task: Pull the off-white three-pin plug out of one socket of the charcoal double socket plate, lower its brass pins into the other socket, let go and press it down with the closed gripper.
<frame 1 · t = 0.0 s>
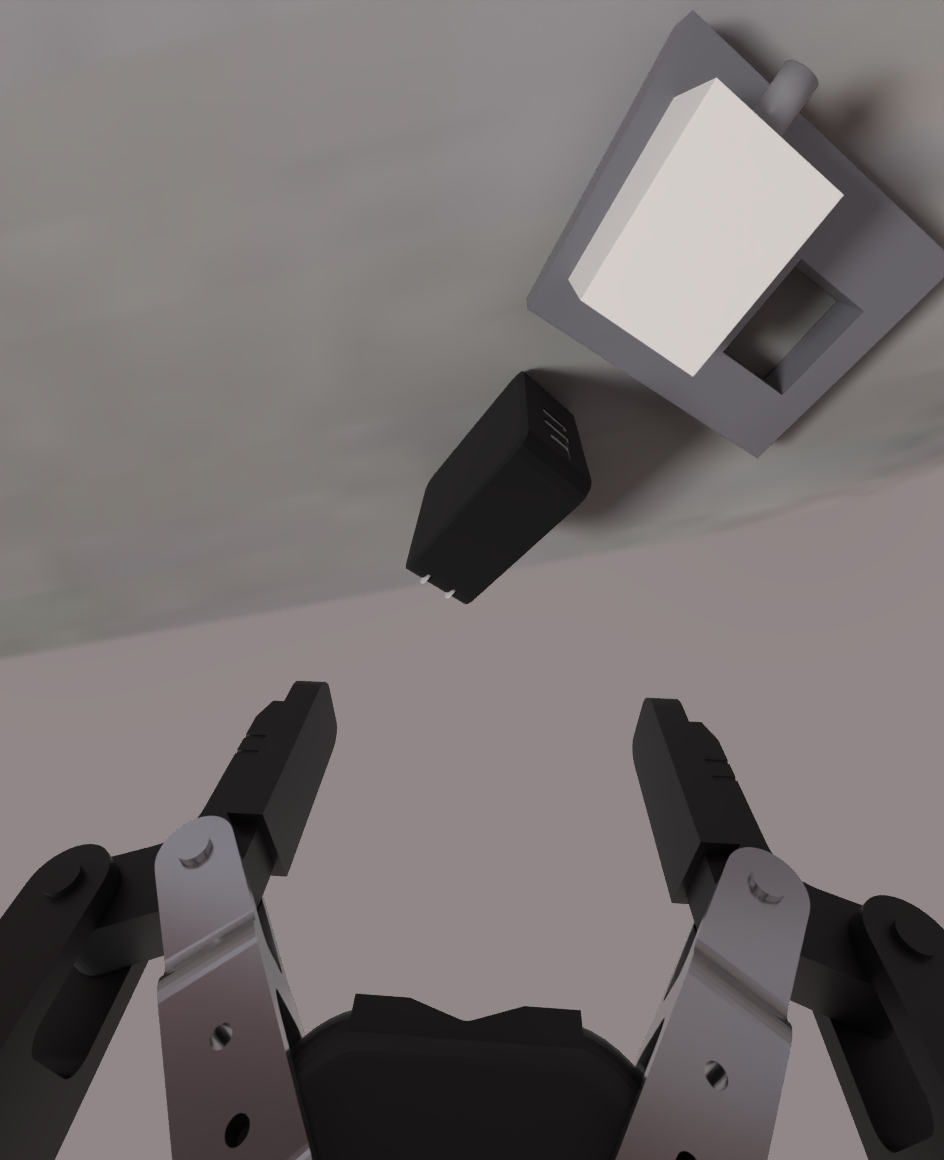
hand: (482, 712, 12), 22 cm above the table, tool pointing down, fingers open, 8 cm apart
electronic device: (494, 447, 32), on the table
plug: (657, 233, 23), resting in socket plate
socket plate: (715, 278, 25), on the table
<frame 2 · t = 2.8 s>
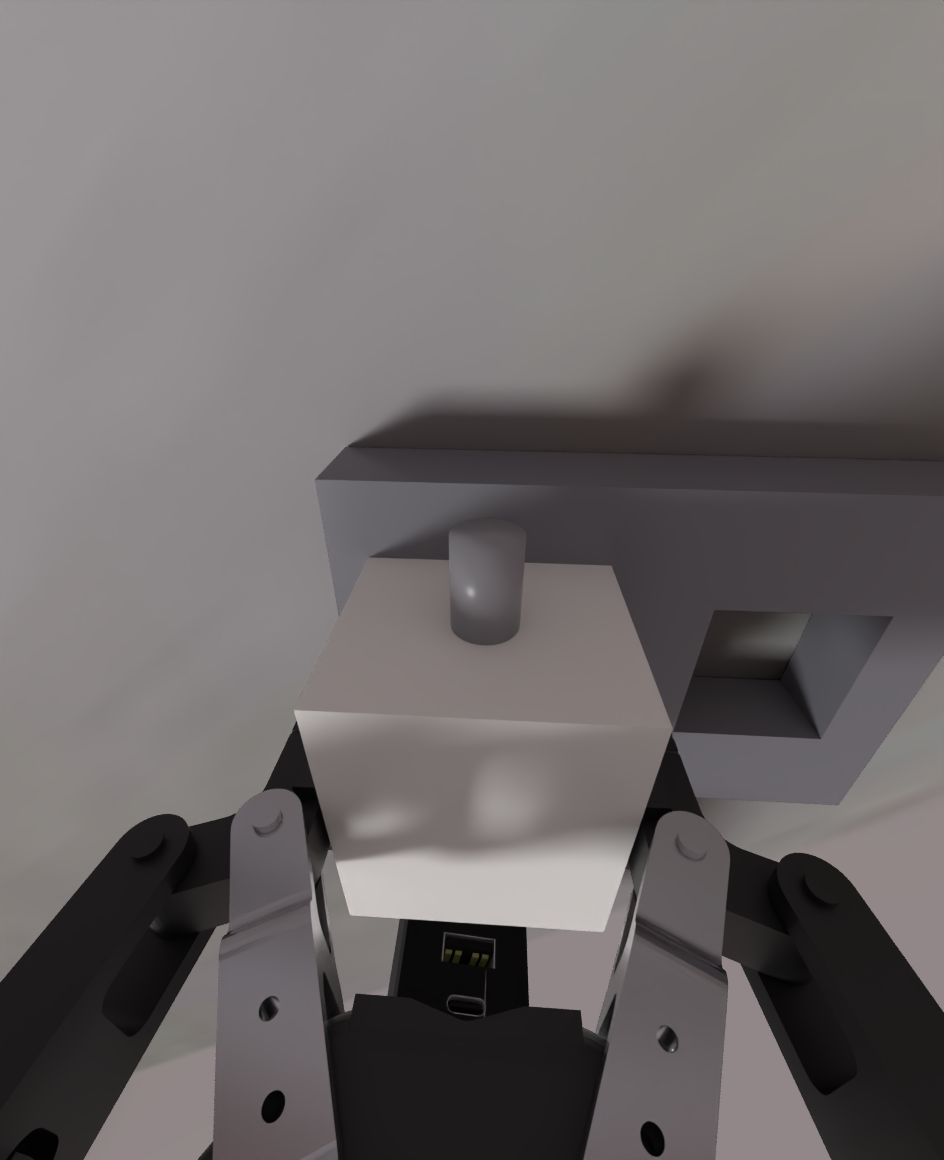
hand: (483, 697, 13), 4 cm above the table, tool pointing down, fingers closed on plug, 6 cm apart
electronic device: (457, 838, 23), on the table
plug: (487, 624, 15), resting in socket plate, touching gripper
socket plate: (610, 620, 16), on the table
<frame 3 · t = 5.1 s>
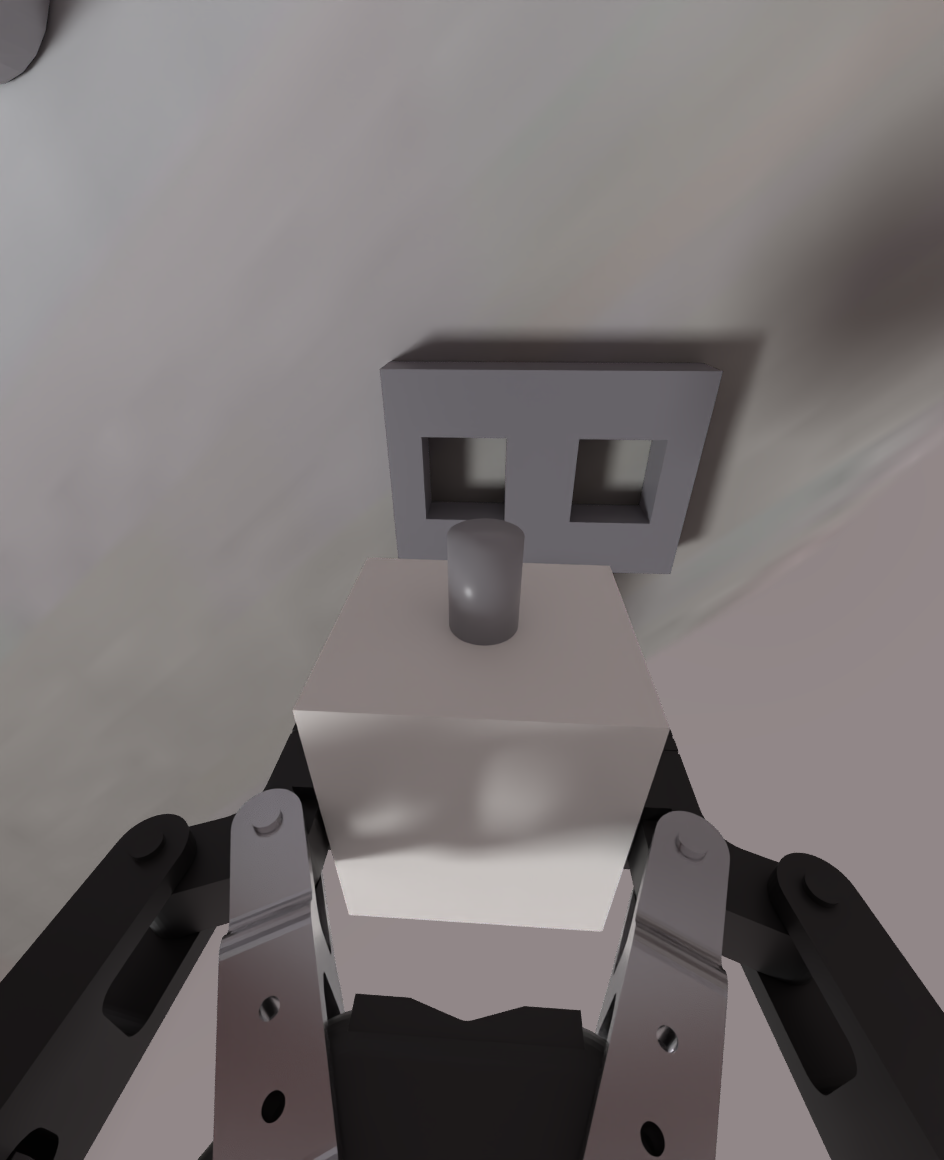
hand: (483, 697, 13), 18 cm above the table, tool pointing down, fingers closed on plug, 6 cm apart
plug: (486, 624, 15), point 15 cm above the table, touching gripper
socket plate: (536, 466, 27), on the table
when the fingers open (5 cm above the table, at t = 7.8 s): plug stays where it is, resting on socket plate.
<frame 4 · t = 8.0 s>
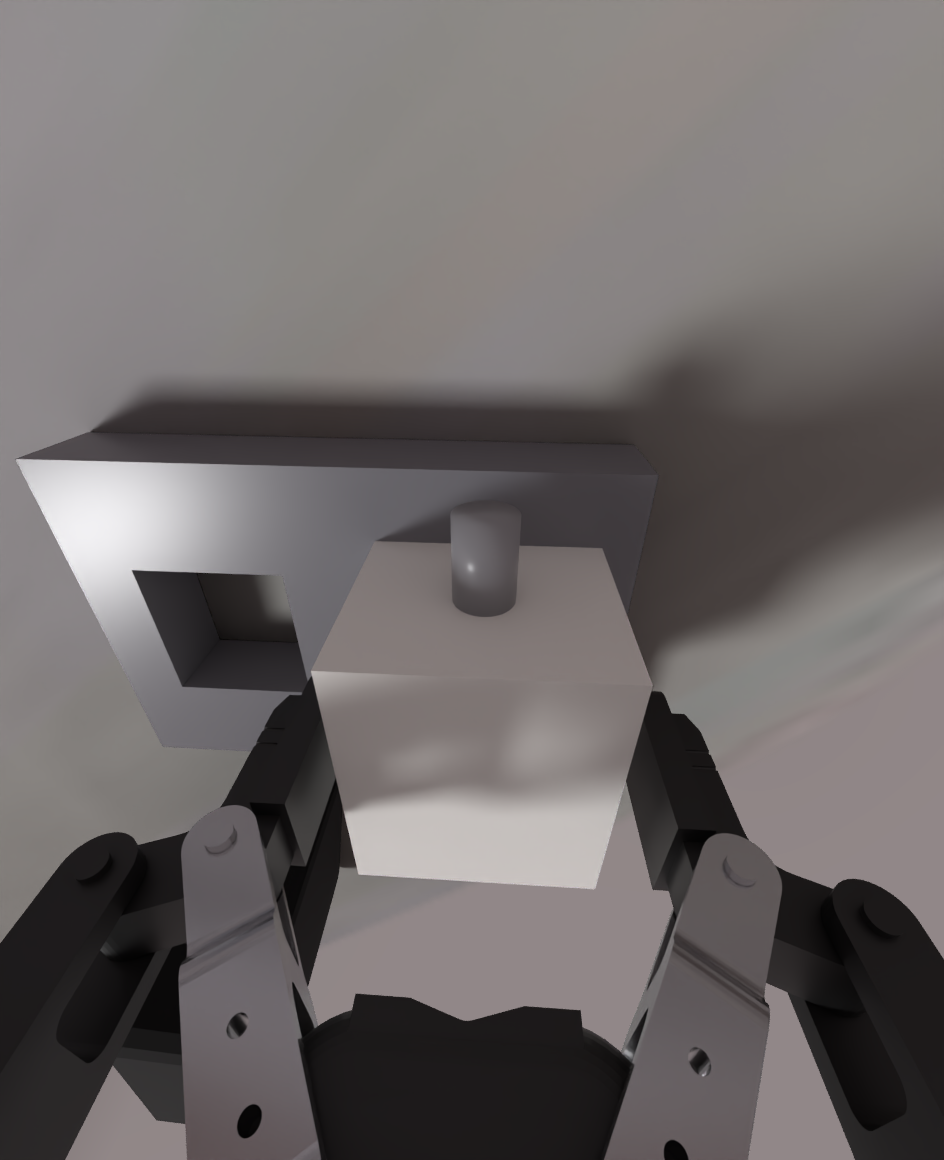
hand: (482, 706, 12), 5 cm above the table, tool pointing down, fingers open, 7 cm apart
electronic device: (303, 811, 25), on the table
plug: (486, 608, 16), resting on socket plate
socket plate: (373, 595, 17), on the table
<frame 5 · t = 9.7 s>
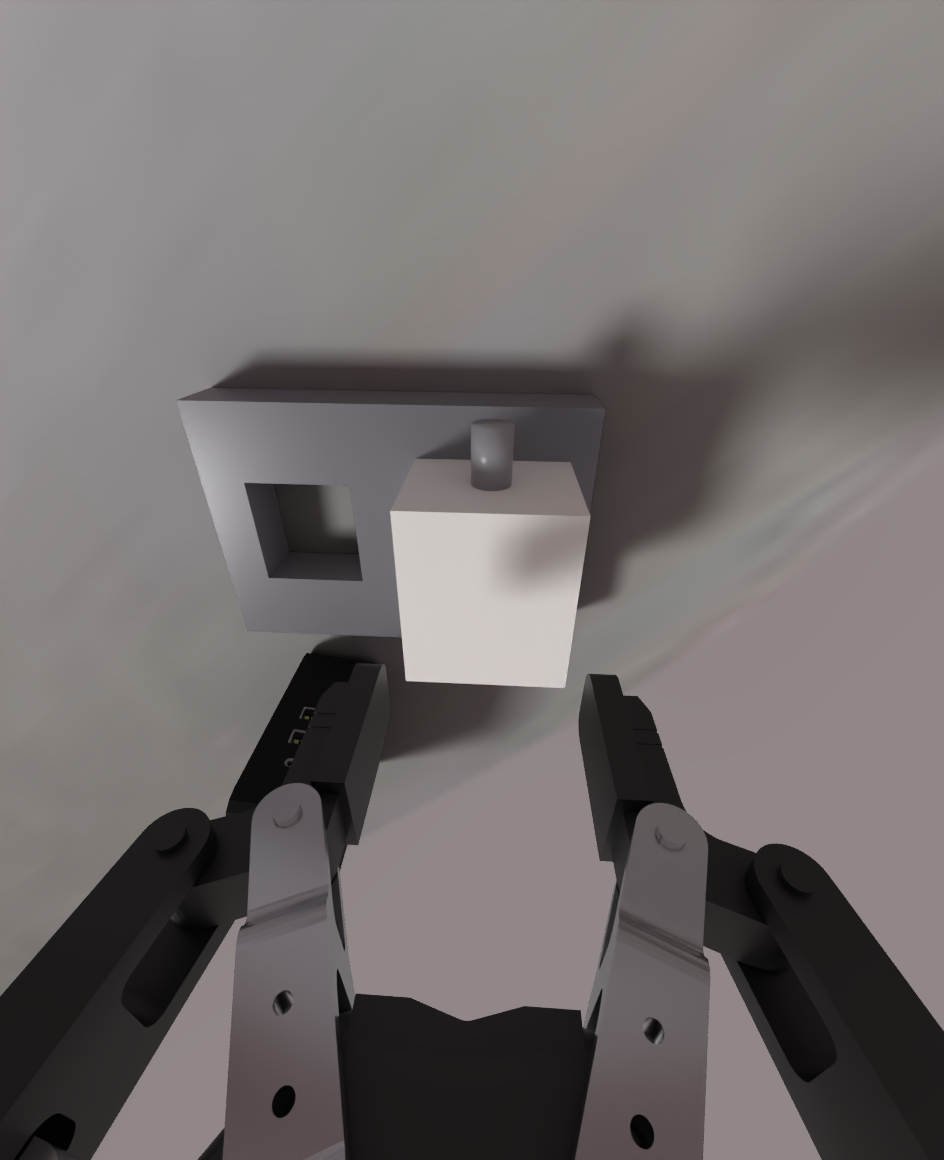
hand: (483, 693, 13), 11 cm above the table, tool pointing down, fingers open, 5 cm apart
electronic device: (342, 708, 30), on the table
plug: (491, 520, 22), resting on socket plate
socket plate: (407, 513, 23), on the table
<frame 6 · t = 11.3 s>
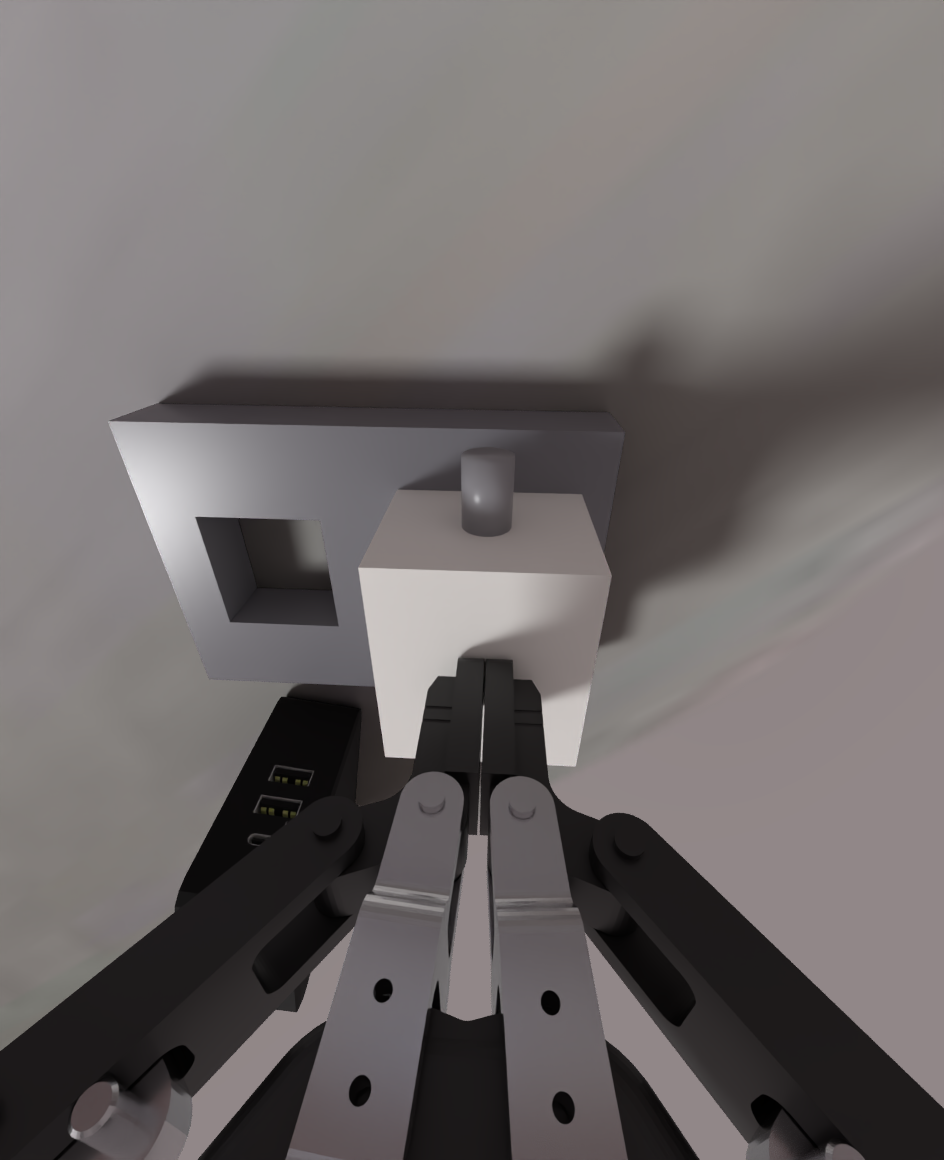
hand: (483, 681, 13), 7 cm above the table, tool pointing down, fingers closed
electronic device: (324, 753, 27), on the table
plug: (487, 555, 19), resting on socket plate, touching gripper
socket plate: (391, 546, 20), on the table
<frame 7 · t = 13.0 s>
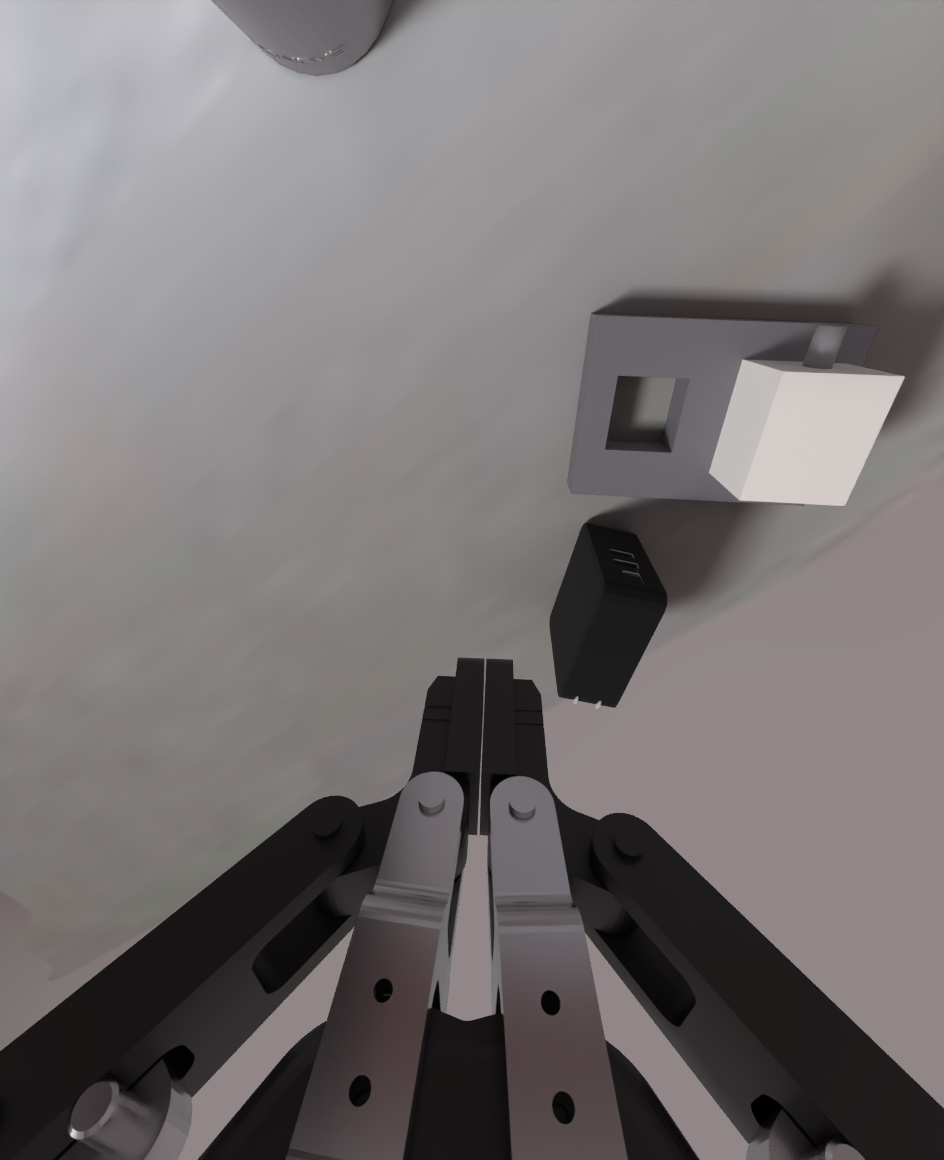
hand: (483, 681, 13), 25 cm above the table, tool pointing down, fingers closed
electronic device: (588, 576, 40), on the table
plug: (758, 414, 32), resting on socket plate
socket plate: (696, 410, 33), on the table
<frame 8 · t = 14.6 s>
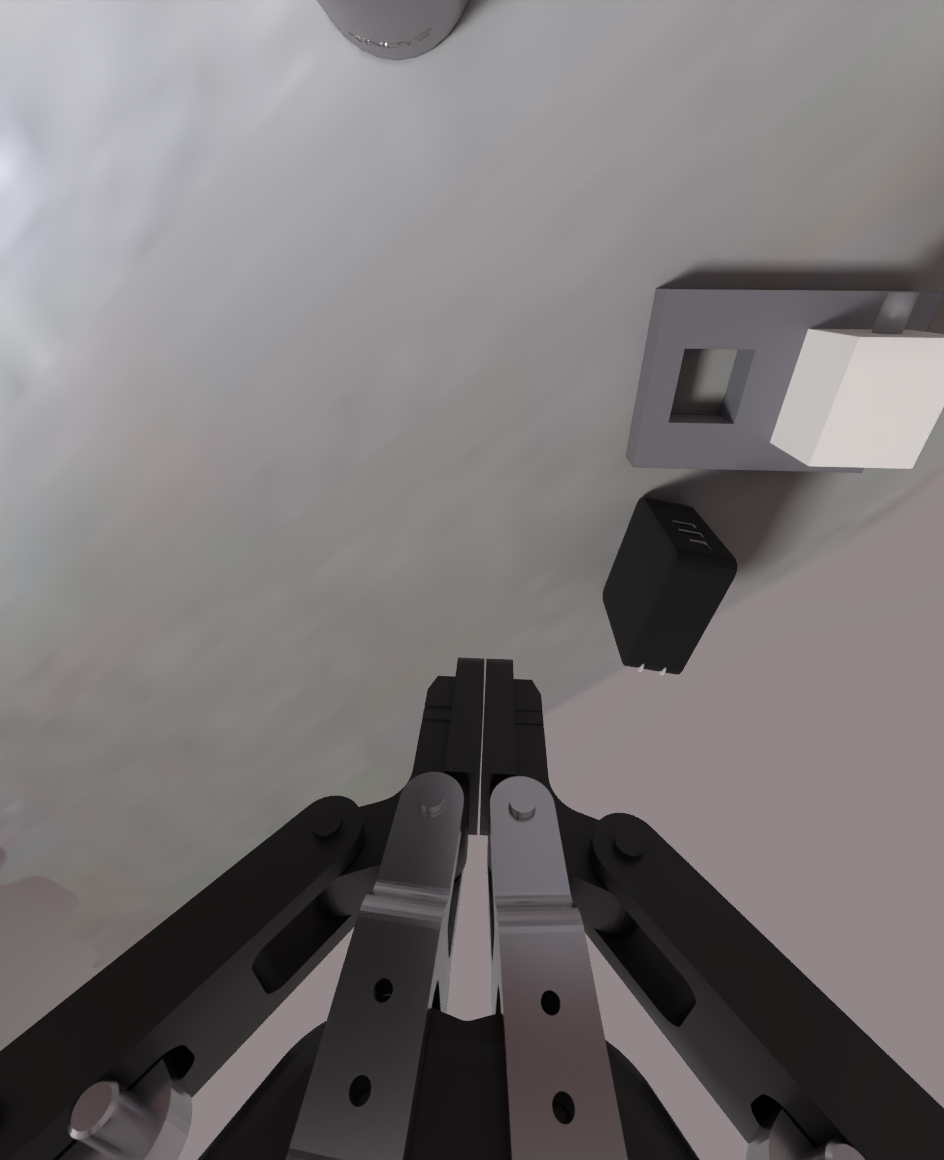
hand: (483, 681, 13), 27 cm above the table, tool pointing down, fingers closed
electronic device: (641, 550, 41), on the table
plug: (818, 384, 33), resting on socket plate
socket plate: (755, 381, 33), on the table
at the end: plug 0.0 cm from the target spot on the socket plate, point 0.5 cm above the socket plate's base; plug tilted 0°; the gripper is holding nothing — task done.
